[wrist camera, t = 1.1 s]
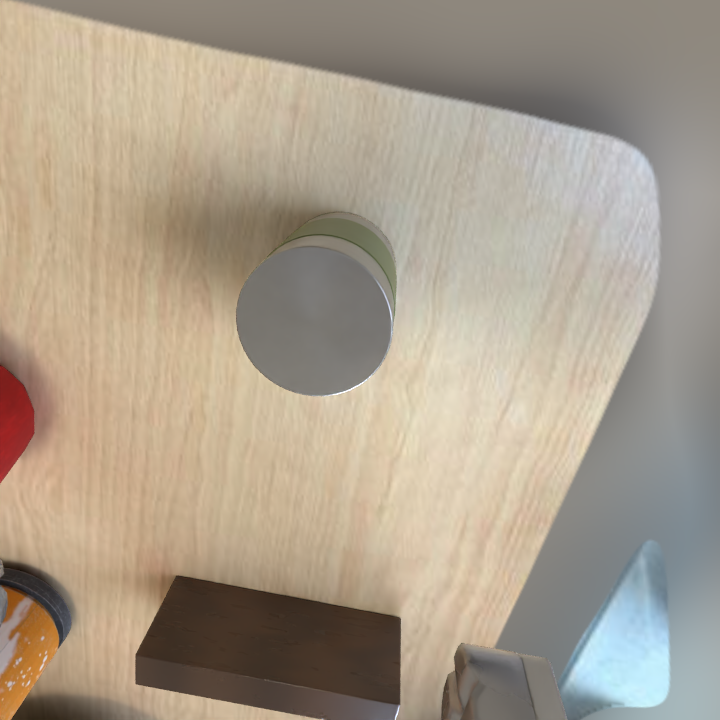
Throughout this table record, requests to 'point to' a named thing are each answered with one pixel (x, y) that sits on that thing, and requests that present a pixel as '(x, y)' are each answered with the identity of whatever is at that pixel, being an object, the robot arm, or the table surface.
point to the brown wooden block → (273, 652)
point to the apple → (13, 421)
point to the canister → (28, 635)
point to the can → (321, 306)
